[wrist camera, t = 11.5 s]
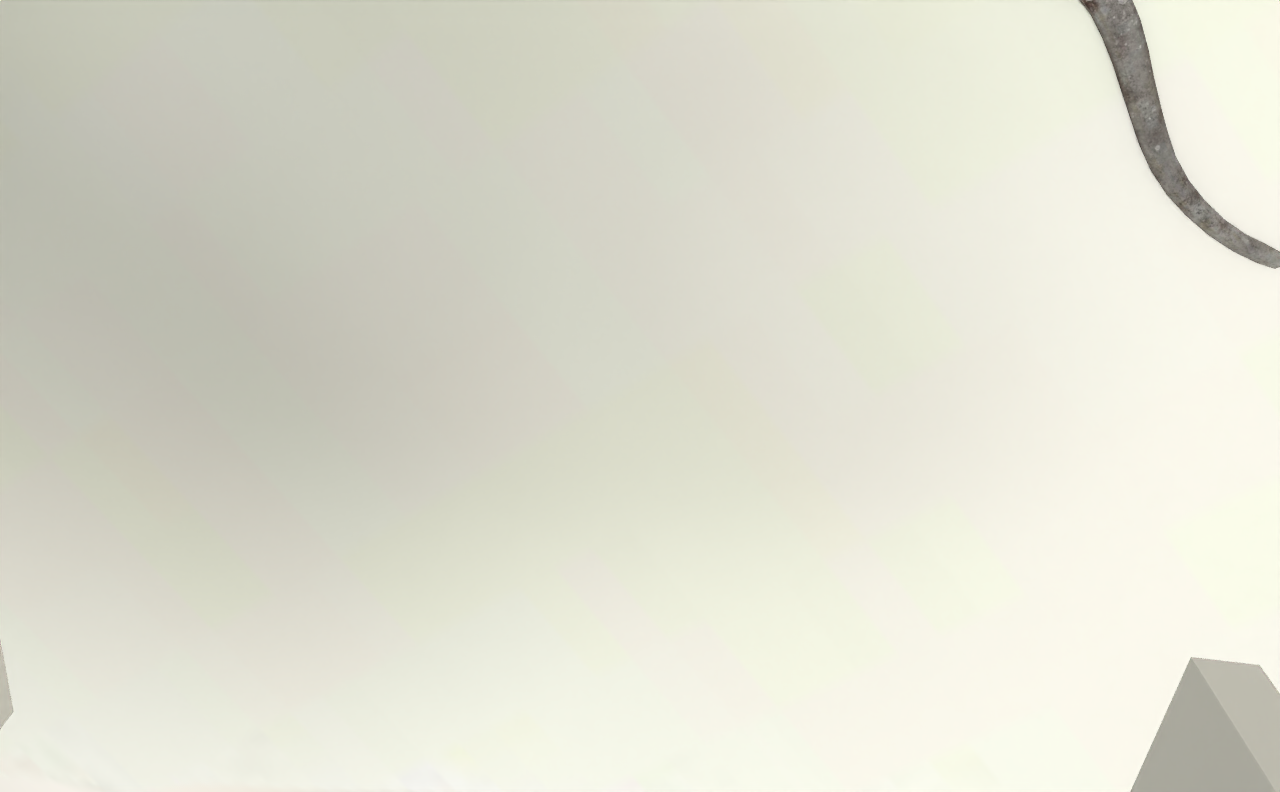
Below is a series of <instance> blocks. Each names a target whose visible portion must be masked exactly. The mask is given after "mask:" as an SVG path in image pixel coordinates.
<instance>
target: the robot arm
mask: <svg viewBox="0 0 1280 792" xmlns="http://www.w3.org/2000/svg"><path fill="white" fill-rule="evenodd" d="M12 713H13V707H12V701H11V696H10V690H9V685H8V679H7V674H6V669H5V663H4V658H3V652H2V647H1V641H0V729H1V727H2V726H3V725H4V723H5V722H6V721H7V719H8V718H9V717H10V716H11V714H12ZM1131 792H1280V694H1279V692H1278V691H1277V689H1276V688H1275V686H1274V685H1273V684H1272V682H1271V681H1270V679H1269V678H1268V677H1267V675H1266V674H1265V672H1264V671H1263V669H1262V668H1261V667H1260V665H1253V664H1245V663H1236V662H1228V661H1219V660H1210V659H1202V658H1193V657H1191V659H1190V661H1189V663H1188V665H1187V667H1186V670H1185V672H1184V674H1183V676H1182V679H1181V681H1180V683H1179V685H1178V687H1177V690H1176V692H1175V694H1174V696H1173V698H1172V701H1171V703H1170V705H1169V707H1168V710H1167V712H1166V714H1165V716H1164V718H1163V721H1162V723H1161V725H1160V727H1159V730H1158V732H1157V734H1156V736H1155V738H1154V741H1153V743H1152V745H1151V747H1150V750H1149V752H1148V754H1147V756H1146V758H1145V761H1144V763H1143V765H1142V767H1141V769H1140V772H1139V774H1138V776H1137V778H1136V781H1135V783H1134V785H1133V787H1132V789H1131Z"/></svg>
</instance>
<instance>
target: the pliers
mask: <svg viewBox="0 0 1280 792" xmlns="http://www.w3.org/2000/svg"><path fill="white" fill-rule="evenodd" d="M1080 1H1081V2H1082V4H1083V5H1084V6H1085V7H1086V9H1087V10H1088V11H1089V13H1090V14H1091V16H1092V18H1093V20H1094V22H1095V24H1096V26H1097V28H1098V30H1099V32H1100V34H1101V36H1102V38H1103V40H1104V43H1105V45H1106V48H1107V50H1108V53H1109V55H1110V58H1111V61H1112V63H1113V66H1114V69H1115V72H1116V75H1117V78H1118V81H1119V84H1120V88H1121V91H1122V94H1123V97H1124V100H1125V103H1126V106H1127V109H1128V112H1129V115H1130V118H1131V121H1132V124H1133V127H1134V130H1135V133H1136V136H1137V139H1138V142H1139V144H1140V147H1141V149H1142V151H1143V153H1144V156H1145V158H1146V160H1147V163H1148V165H1149V167H1150V169H1151V171H1152V172H1153V174H1154V175H1155V177H1156V178H1157V180H1158V182H1159V183H1160V185H1161V186H1162V188H1163V189H1164V191H1165V192H1166V194H1167V195H1168V196H1169V197H1170V198H1171V199H1172V200H1173V201H1174V202H1175V204H1176V205H1177V206H1178V207H1179V208H1180V209H1181V210H1182V211H1183V212H1184V213H1185V214H1186V215H1187V216H1188V217H1189V218H1190V219H1191V220H1192V221H1193V222H1195V223H1196V224H1197V225H1198V226H1199V227H1200V228H1202V229H1203V230H1204V231H1205V232H1206V233H1207V234H1208V235H1210V236H1211V237H1213V238H1214V239H1216V240H1217V241H1219V242H1220V243H1222V244H1223V245H1225V246H1226V247H1228V248H1229V249H1231V250H1232V251H1234V252H1236V253H1238V254H1240V255H1242V256H1244V257H1246V258H1248V259H1250V260H1252V261H1255V262H1257V263H1259V264H1262V265H1265V266H1268V267H1272V268H1278V267H1280V252H1279V251H1277V250H1275V249H1273V248H1272V247H1270V246H1268V245H1266V244H1264V243H1262V242H1260V241H1258V240H1256V239H1254V238H1252V237H1250V236H1248V235H1246V234H1244V233H1243V232H1242V231H1240V230H1239V229H1237V228H1236V227H1234V226H1233V225H1231V224H1230V223H1228V222H1227V221H1225V220H1224V219H1223V218H1222V217H1221V216H1220V215H1219V214H1218V213H1217V212H1216V211H1215V210H1214V209H1213V208H1212V207H1211V206H1210V205H1209V204H1208V203H1207V202H1206V201H1205V200H1204V199H1203V198H1202V196H1201V195H1200V194H1199V193H1198V191H1197V190H1196V189H1195V188H1194V186H1193V185H1192V184H1191V183H1190V182H1189V180H1188V178H1187V176H1186V175H1185V173H1184V171H1183V169H1182V167H1181V165H1180V164H1179V162H1178V160H1177V158H1176V156H1175V153H1174V150H1173V147H1172V144H1171V141H1170V138H1169V135H1168V132H1167V128H1166V124H1165V120H1164V117H1163V113H1162V109H1161V105H1160V101H1159V97H1158V93H1157V88H1156V84H1155V80H1154V76H1153V70H1152V65H1151V60H1150V55H1149V50H1148V46H1147V43H1146V39H1145V35H1144V31H1143V28H1142V24H1141V20H1140V18H1139V15H1138V13H1137V10H1136V8H1135V5H1134V3H1133V1H1132V0H1080Z"/></svg>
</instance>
